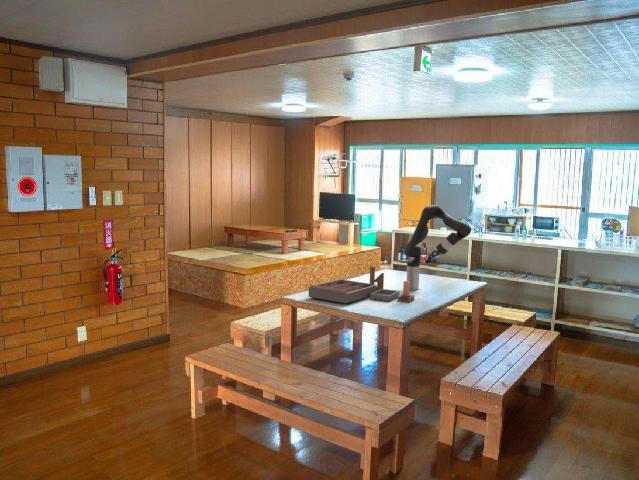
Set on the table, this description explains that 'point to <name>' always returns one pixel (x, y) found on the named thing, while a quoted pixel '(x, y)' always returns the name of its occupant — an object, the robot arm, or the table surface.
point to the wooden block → (379, 279)
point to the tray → (384, 295)
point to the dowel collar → (406, 298)
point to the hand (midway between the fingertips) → (427, 262)
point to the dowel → (406, 289)
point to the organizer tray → (341, 291)
